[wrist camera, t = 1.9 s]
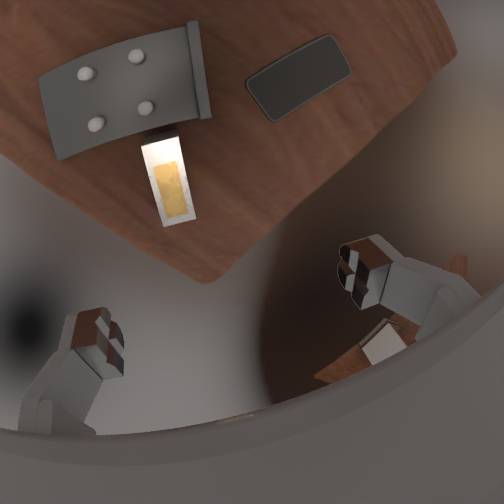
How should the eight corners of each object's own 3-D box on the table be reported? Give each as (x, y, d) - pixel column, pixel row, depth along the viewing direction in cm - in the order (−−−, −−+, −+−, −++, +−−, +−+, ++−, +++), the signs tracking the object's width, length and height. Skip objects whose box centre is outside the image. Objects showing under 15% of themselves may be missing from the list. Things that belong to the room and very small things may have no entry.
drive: (146, 136, 30) (141, 146, 25) (177, 128, 30) (178, 136, 25) (163, 205, 36) (163, 227, 31) (191, 198, 36) (196, 219, 31)
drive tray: (41, 77, 20) (29, 77, 17) (195, 26, 23) (198, 20, 20) (61, 159, 27) (50, 167, 24) (207, 114, 30) (211, 117, 27)
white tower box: (374, 346, 81) (425, 427, 54) (358, 343, 76) (414, 435, 48) (397, 322, 77) (455, 404, 50) (384, 317, 72) (448, 409, 44)
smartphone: (241, 82, 28) (331, 31, 26) (239, 82, 29) (327, 32, 27) (273, 126, 33) (355, 74, 30) (271, 125, 34) (351, 74, 31)
